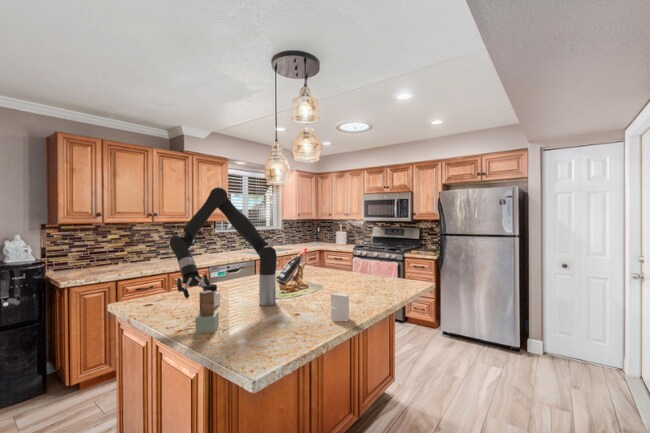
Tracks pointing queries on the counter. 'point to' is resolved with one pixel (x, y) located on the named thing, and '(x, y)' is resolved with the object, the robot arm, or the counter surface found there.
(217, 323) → the sage slab lower
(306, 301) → the counter surface
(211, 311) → the walnut block
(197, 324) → the sage slab upper
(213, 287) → the medicine bottle
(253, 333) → the counter surface
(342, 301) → the light grey block
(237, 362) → the counter surface
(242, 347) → the counter surface
